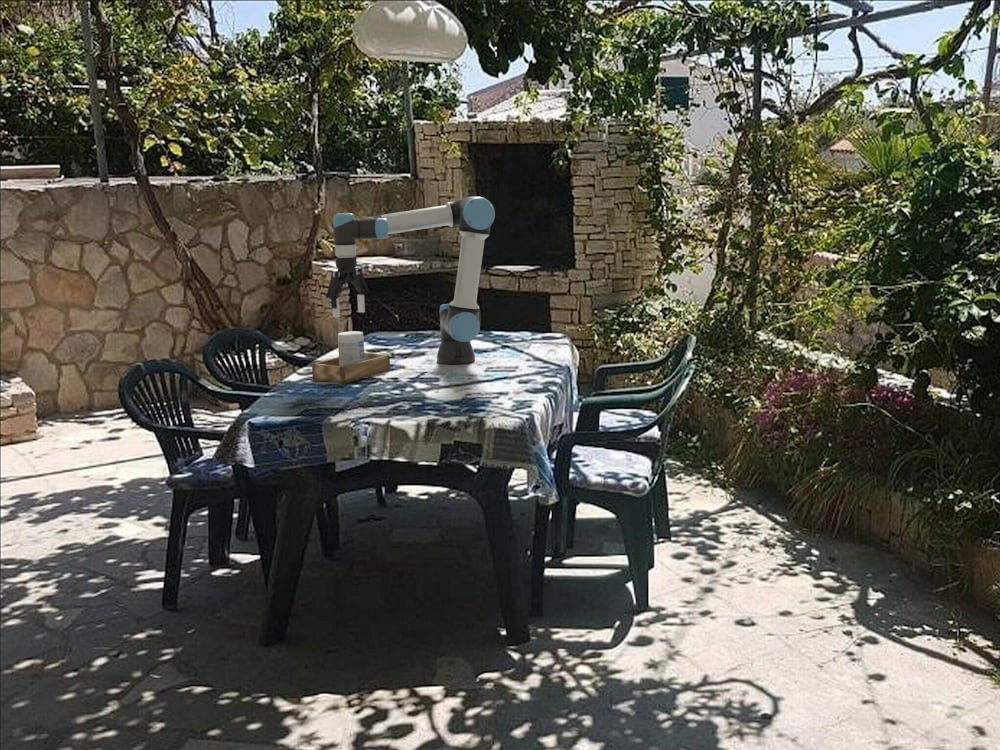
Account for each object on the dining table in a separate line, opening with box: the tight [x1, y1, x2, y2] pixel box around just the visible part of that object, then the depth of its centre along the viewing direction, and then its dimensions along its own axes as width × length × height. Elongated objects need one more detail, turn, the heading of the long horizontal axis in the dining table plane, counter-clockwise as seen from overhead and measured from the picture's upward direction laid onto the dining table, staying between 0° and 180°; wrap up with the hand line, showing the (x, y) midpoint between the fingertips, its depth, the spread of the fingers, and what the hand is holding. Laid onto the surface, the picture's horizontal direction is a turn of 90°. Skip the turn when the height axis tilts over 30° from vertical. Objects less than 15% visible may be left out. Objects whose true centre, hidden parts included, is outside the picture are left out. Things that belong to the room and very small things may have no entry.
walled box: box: [311, 351, 391, 385], centre depth 328 cm, size 15×26×6 cm, turn 147°
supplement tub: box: [337, 330, 365, 367], centre depth 327 cm, size 10×10×15 cm
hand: (349, 314), depth 324 cm, fingers open, 13 cm apart
